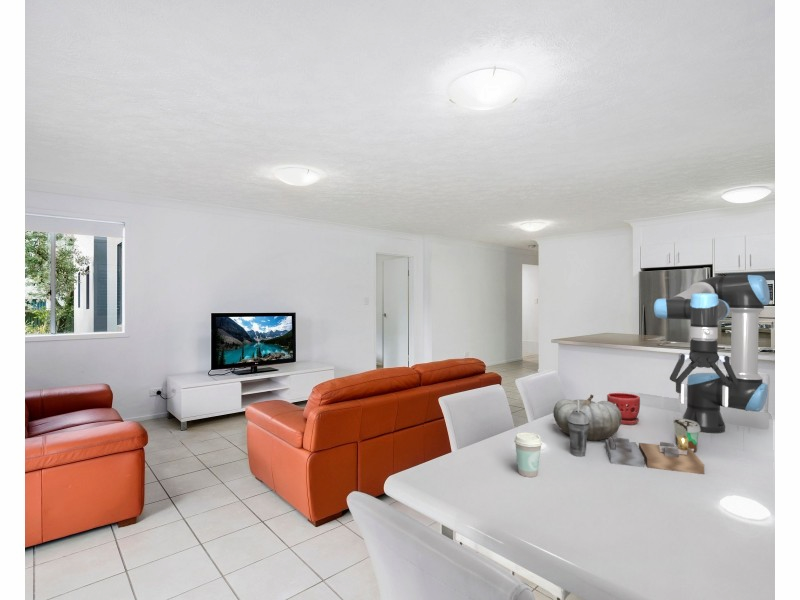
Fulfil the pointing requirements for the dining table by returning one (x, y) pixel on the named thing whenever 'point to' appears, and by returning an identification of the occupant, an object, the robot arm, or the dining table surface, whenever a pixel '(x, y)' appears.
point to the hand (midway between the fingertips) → (702, 404)
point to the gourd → (590, 416)
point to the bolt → (679, 445)
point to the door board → (652, 456)
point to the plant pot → (629, 411)
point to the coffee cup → (528, 453)
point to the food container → (687, 432)
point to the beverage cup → (578, 432)
